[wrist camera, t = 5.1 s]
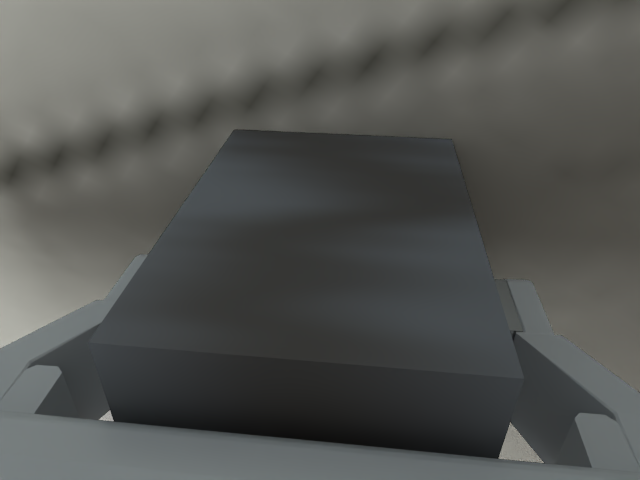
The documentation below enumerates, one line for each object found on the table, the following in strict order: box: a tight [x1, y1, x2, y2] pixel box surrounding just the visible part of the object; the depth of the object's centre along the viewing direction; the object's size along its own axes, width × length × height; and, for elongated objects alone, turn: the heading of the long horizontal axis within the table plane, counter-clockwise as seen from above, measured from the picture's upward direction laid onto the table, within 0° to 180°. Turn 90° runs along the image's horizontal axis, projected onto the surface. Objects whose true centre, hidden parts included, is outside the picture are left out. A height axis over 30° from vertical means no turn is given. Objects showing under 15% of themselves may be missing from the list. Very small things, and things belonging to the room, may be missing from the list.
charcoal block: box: [88, 130, 524, 459], centre depth 10 cm, size 5×5×7 cm
